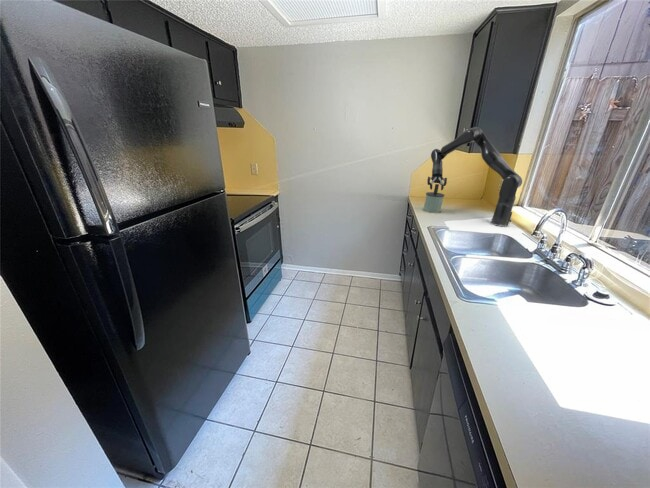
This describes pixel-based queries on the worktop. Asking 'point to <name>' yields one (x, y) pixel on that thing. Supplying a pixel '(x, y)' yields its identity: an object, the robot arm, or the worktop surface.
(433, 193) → the lid
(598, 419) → the worktop surface
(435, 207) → the teal cylindrical pot
